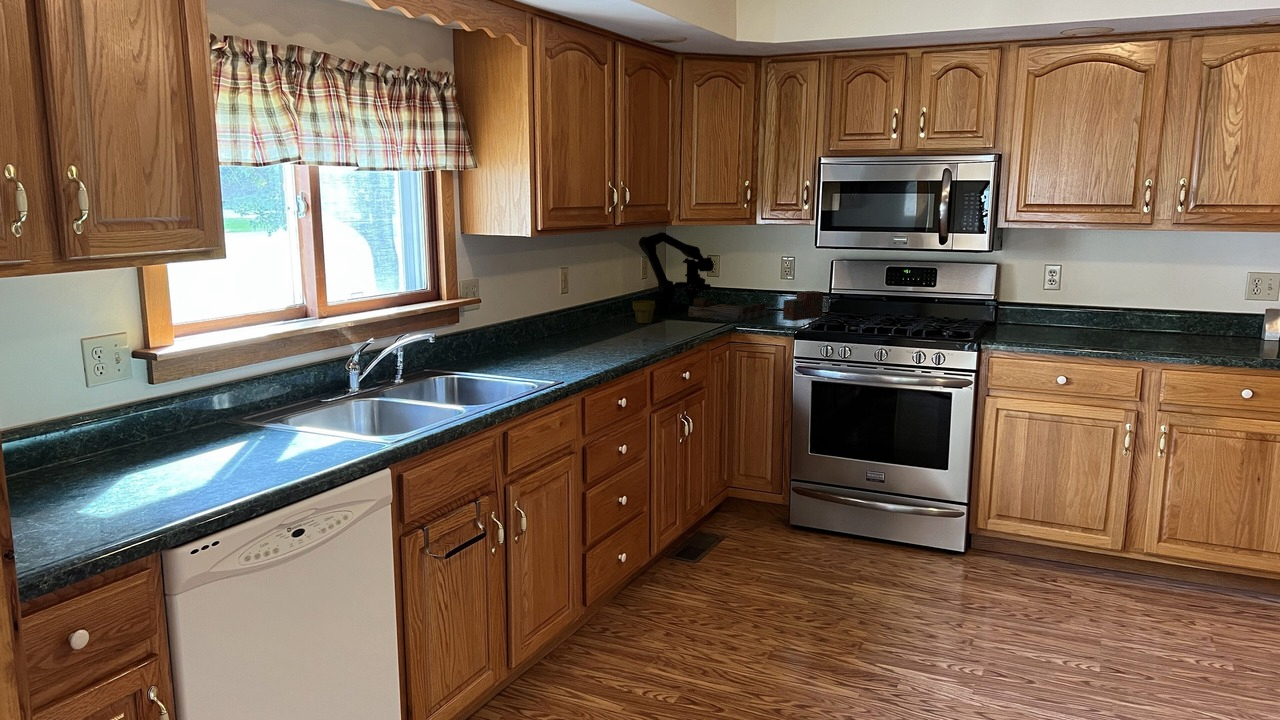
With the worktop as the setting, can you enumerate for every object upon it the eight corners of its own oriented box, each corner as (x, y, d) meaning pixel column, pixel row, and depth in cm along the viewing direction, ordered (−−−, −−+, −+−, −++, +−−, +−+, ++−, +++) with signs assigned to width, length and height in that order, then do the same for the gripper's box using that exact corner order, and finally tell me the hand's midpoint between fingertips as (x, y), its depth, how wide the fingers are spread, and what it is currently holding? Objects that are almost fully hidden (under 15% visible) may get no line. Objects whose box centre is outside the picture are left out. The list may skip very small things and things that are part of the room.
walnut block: (703, 307, 444) (703, 299, 443) (693, 306, 448) (693, 298, 447) (710, 306, 449) (710, 298, 448) (700, 305, 453) (700, 297, 452)
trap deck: (737, 321, 420) (737, 308, 418) (676, 314, 441) (676, 302, 440) (769, 315, 441) (769, 302, 440) (709, 308, 463) (710, 297, 462)
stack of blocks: (792, 321, 422) (793, 294, 420) (782, 319, 427) (783, 293, 424) (822, 317, 436) (823, 291, 433) (812, 315, 440) (813, 290, 438)
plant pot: (629, 322, 419) (629, 300, 417) (650, 320, 423) (650, 299, 421) (637, 325, 410) (637, 303, 408) (658, 324, 413) (658, 302, 411)
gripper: (717, 271, 449) (717, 303, 452) (686, 269, 461) (686, 300, 464) (704, 273, 441) (704, 305, 444) (673, 271, 452) (673, 302, 455)
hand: (692, 303), depth 452 cm, fingers closed
